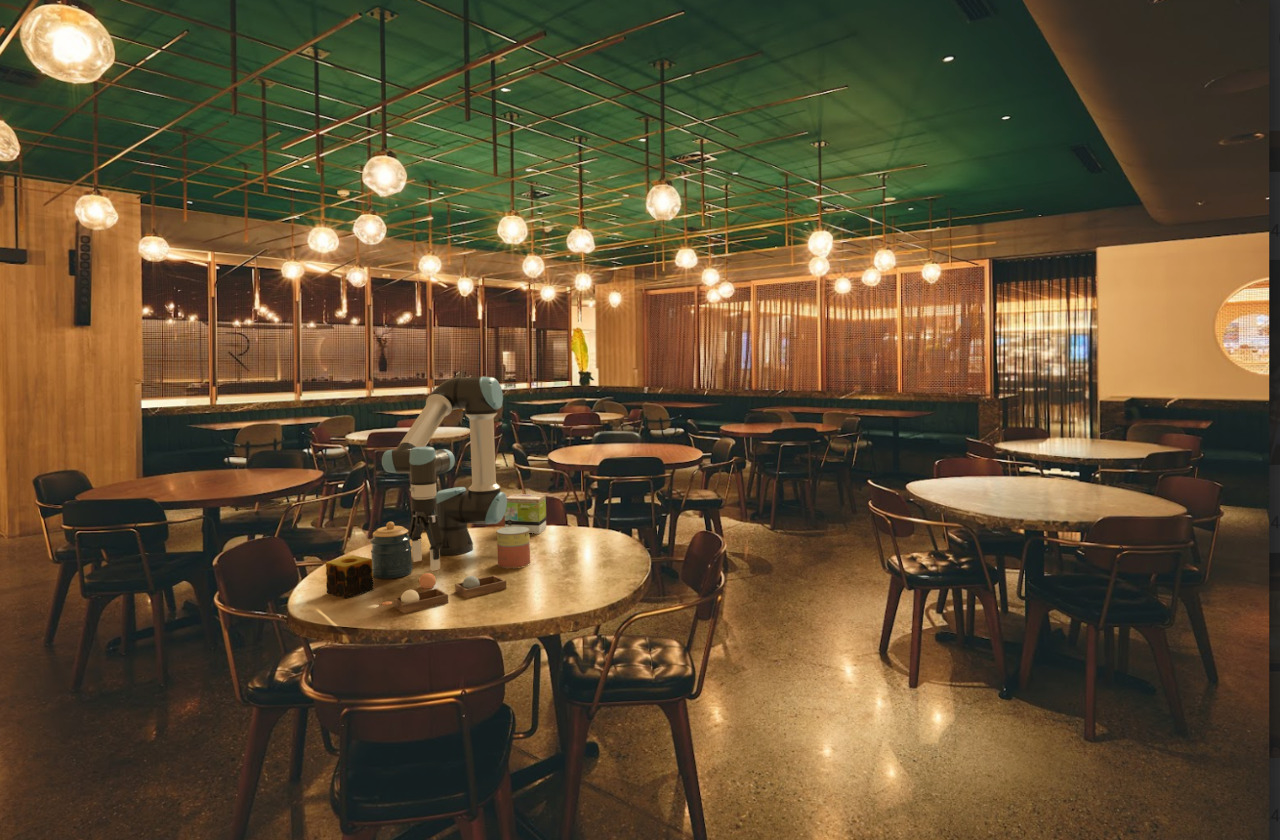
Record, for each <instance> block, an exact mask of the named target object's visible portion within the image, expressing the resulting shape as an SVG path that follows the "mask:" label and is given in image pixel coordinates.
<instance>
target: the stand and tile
mask: <svg viewBox="0 0 1280 840" xmlns="http://www.w3.org/2000/svg"><path fill="white" fill-rule="evenodd" d="M381 605H383V606H388V605H389V606H390V605H393V601H383V602H382V603H381ZM379 606H380V605H379V604H370V605H368V606H367V609H375V608H378V607H379Z"/></svg>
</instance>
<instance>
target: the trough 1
mask: <svg viewBox="0 0 1280 840" xmlns="http://www.w3.org/2000/svg"><path fill="white" fill-rule="evenodd" d="M417 593H418V594H419V601H416V602H412V603H407V604H404V603H403V602H401V596H398V597H393V600H392V603H393V608H395V609H397V610H398V611H399V612H401V613H402V614H408V613H412V612H416V611H421V610H425V609H428V608H433V607H437V606H440V605H441V606H442V605H445V604H449V594H448V593H447V592H444V591H442V590H441V589H439V588H433V589H432V588H431V589H426V590H423V591H420V592H417Z"/></svg>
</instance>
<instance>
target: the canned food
mask: <svg viewBox="0 0 1280 840" xmlns="http://www.w3.org/2000/svg"><path fill="white" fill-rule="evenodd" d="M529 530H530V529H529V528H528V527H523V526H511V527H505V526H504V527H501V528H498V529H497V530H496V542H497V543H496V544H497V547H496V549H497V566H498V567H500V568H503V569H508V568H513V569H519V568H518V567H521V568H523V567H522V566H525V567H527V566H526V565H528V564H529V565H531V546H530V545H531V544H530V543H531V541H530V538H531V537H530V534H529ZM529 565H528V566H529Z"/></svg>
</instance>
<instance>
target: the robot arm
mask: <svg viewBox="0 0 1280 840" xmlns="http://www.w3.org/2000/svg"><path fill="white" fill-rule="evenodd" d="M425 400H426V401H425V406H424V408H423V409H422V411H421V412H420V413H419V415H418V416H417V418H416V419H415V421H414V422H413V424H412V425H411V427H410V428H409V429H408V431H407V433H406V434H405V435H404V437H403V438H402V440H401V441H400V443H399V444H398V446H397V447H396V448H395V449H394V448H393V449H388V450H385V451H384V453H383V455H382V457H381V465H382V467H383V470H384V471H385V472H386V473H391V474H410V477H409V478H410V487H409V491H410V496H411V500H410V506H411V507H410V508H411V520H410V526H409V529H408V535H409V538H410V537H411V540H410V541H411V546H412V548H411V554H412V563H415V562H420V561H423V555H422V554H423V550H422V534H423V531H424V532H425V534H426V535H427V539H428V542H429V546H430V547H429V562H430V563H429V564H430V566H429V568H430V571H431V572H433V571H437V570H441V556H453V555H454V556H455V555H461V554H465V553H466V554H467V553H468V552H470V551H472V550H473V549H474V542H473V540H472V537H471V535H470V531H469V529H468V524H477V525H479V524H480V525H481V524H483V525H494V524H495V525H496V524H499V523H500V522H502V520H503V518H505V511H506V507H507V497H508V496H507V495H506V493H505V492H503V491H501V485H500V484H498V483H497V477H496V476H497V475H496V448H495V424H494V420H495V419H494V418H495V417H496V416H497V415H498V410H500V409H501V408H502V406H503V401H504V394H503V390H502V387H501V384H500V383H499V381H498V380H497V379H496V378H495V377H492V376H490V377H489V376H472V377H471V376H468V377H466V376H464V377H463V376H462V377H461V376H458V377H457V376H456V377H453V378H449V379H447V380H445V381H444V382H442V383H441V384H439V385H437V386H436V388H435V389H433V390H432V391H431V392H430V394H429V395H428V396H427V397H426V399H425ZM454 410H464V415H465V416H466V418H468V420H469V434H470V435H469V437H470V439H469V440H470V442H469V443H470V461H471V464H470V465H471V482H472V483H471V485H470V486H469V487H468V489H467V488H466V487H465V486H459V487H452V488H445V489H441V490H439V491H437V475H440V474H445V473H447V472H448V471H451V470H452V469H453V467H454V466H455V464H456V460H455V459H456V457H455V455H454V454H453V452H452V451H451V450H449V449H445V448H439V449H435V448H434V447H432V446H427V445H428V443H429V442H430V440H431V439H432V437H433V435H434V434H435V433H436V431H437V429H438V428H439V426H440V425H441V423H442V422H443V420H444V419H445V417H447V416H449V415H450V414H451V413H452V411H454ZM433 512H434V515H433Z"/></svg>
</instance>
